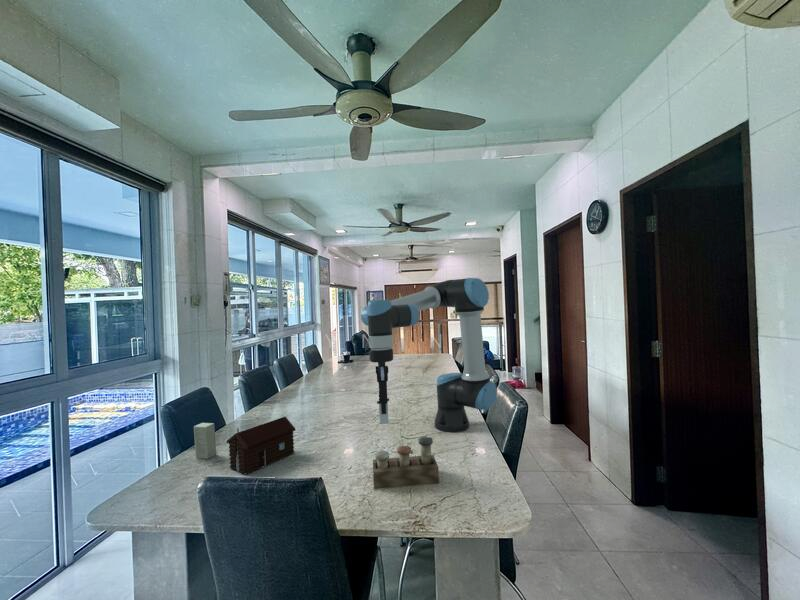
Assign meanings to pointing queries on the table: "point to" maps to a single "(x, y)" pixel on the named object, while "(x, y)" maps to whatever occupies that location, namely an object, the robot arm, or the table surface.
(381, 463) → the plug cream
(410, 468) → the socket block
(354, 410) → the table surface
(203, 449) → the skincare box
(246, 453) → the model building
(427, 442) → the plug charcoal
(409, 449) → the plug terracotta
